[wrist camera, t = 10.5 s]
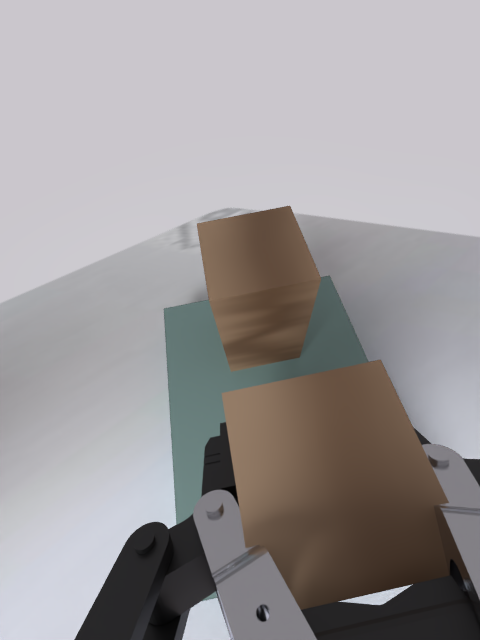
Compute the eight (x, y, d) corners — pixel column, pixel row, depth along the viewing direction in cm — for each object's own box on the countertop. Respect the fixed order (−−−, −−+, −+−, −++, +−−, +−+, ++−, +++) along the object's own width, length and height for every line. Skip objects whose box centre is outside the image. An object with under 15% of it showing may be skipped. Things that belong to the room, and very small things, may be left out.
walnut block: (262, 544, 14) (256, 620, 6) (243, 436, 16) (221, 393, 9) (361, 522, 14) (480, 568, 6) (327, 418, 16) (380, 359, 9)
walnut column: (230, 371, 20) (209, 301, 12) (220, 313, 23) (196, 223, 15) (299, 357, 20) (321, 278, 12) (281, 300, 23) (290, 205, 15)
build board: (194, 586, 17) (180, 607, 14) (174, 326, 26) (163, 307, 23) (422, 535, 17) (452, 545, 14) (323, 296, 26) (330, 274, 23)
